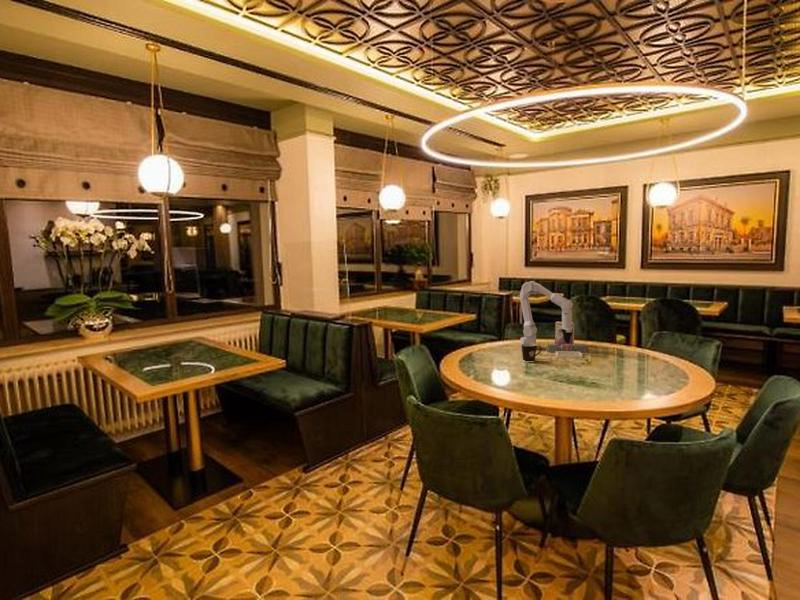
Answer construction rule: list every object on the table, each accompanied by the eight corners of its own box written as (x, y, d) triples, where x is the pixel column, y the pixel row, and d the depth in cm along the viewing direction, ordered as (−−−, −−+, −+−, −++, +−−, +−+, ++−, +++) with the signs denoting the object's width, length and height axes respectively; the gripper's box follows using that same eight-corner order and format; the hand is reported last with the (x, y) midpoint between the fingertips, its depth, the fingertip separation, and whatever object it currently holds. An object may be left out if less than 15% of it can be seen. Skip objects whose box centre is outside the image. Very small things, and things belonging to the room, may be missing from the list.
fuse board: (587, 352, 287) (587, 346, 286) (589, 355, 281) (589, 348, 280) (545, 352, 292) (545, 346, 292) (545, 354, 286) (545, 348, 286)
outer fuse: (585, 351, 286) (585, 344, 285) (586, 353, 282) (586, 345, 281) (574, 351, 287) (574, 344, 287) (575, 352, 283) (575, 345, 283)
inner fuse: (557, 351, 289) (557, 344, 289) (558, 352, 286) (558, 345, 285) (547, 351, 291) (547, 343, 290) (548, 352, 287) (548, 345, 286)
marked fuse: (571, 351, 288) (571, 344, 287) (572, 352, 284) (572, 345, 283) (561, 351, 289) (561, 343, 288) (561, 352, 285) (562, 345, 284)
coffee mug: (521, 363, 267) (521, 346, 266) (521, 359, 276) (521, 342, 275) (542, 363, 265) (542, 346, 264) (541, 360, 273) (541, 343, 272)
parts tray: (579, 355, 281) (579, 351, 280) (582, 359, 271) (582, 355, 271) (555, 355, 284) (555, 351, 283) (557, 359, 274) (557, 354, 274)
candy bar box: (554, 347, 305) (554, 322, 303) (556, 345, 309) (556, 321, 307) (572, 348, 299) (572, 323, 297) (574, 347, 303) (574, 322, 301)
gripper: (575, 321, 276) (575, 344, 278) (572, 318, 290) (572, 339, 292) (563, 321, 278) (563, 344, 279) (560, 318, 292) (560, 339, 293)
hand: (566, 342), depth 286 cm, fingers open, 7 cm apart
